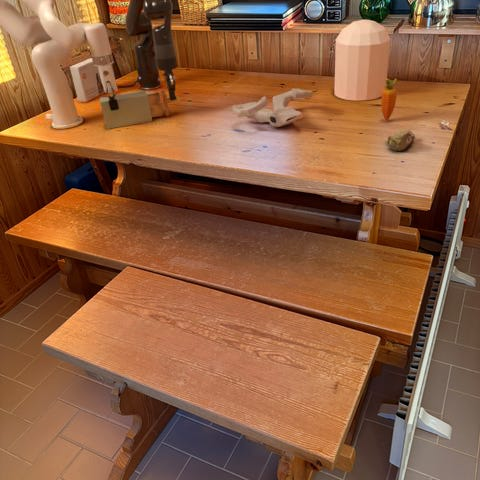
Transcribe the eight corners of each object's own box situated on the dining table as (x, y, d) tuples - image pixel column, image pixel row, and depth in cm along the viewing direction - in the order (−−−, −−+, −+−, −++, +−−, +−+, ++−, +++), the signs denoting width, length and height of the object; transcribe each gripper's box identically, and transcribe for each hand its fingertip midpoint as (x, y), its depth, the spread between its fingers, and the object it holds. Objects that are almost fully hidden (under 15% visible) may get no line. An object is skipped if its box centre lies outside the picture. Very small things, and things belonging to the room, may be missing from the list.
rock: (408, 140, 153) (379, 139, 152) (414, 122, 149) (384, 120, 148) (421, 154, 144) (391, 153, 143) (428, 135, 140) (396, 133, 139)
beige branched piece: (230, 133, 167) (227, 101, 161) (244, 110, 188) (241, 81, 182) (308, 133, 161) (308, 99, 155) (313, 109, 182) (314, 78, 176)
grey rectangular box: (150, 116, 191) (145, 90, 185) (152, 121, 186) (147, 94, 180) (106, 123, 188) (99, 98, 182) (106, 128, 183) (100, 102, 177)
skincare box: (87, 102, 214) (77, 67, 204) (78, 102, 215) (68, 66, 206) (113, 88, 229) (105, 54, 220) (104, 88, 231) (96, 54, 222)
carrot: (394, 118, 167) (398, 76, 158) (393, 123, 163) (397, 80, 154) (379, 117, 168) (383, 75, 160) (378, 122, 165) (382, 80, 156)
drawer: (180, 109, 192) (177, 88, 187) (182, 113, 189) (179, 91, 184) (126, 118, 188) (121, 97, 183) (127, 122, 184) (122, 100, 179)
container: (354, 104, 182) (359, 27, 166) (324, 91, 198) (325, 20, 182) (396, 93, 189) (404, 18, 173) (363, 81, 205) (368, 12, 189)
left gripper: (114, 63, 166) (125, 112, 176) (111, 53, 180) (122, 99, 190) (93, 66, 164) (105, 115, 175) (92, 56, 178) (103, 102, 188)
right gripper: (178, 57, 173) (185, 103, 182) (172, 51, 183) (179, 94, 193) (158, 60, 171) (166, 106, 181) (153, 53, 182) (161, 97, 192)
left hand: (114, 106), depth 182 cm, fingers closed on grey rectangular box, 6 cm apart
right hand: (173, 100), depth 187 cm, fingers closed
